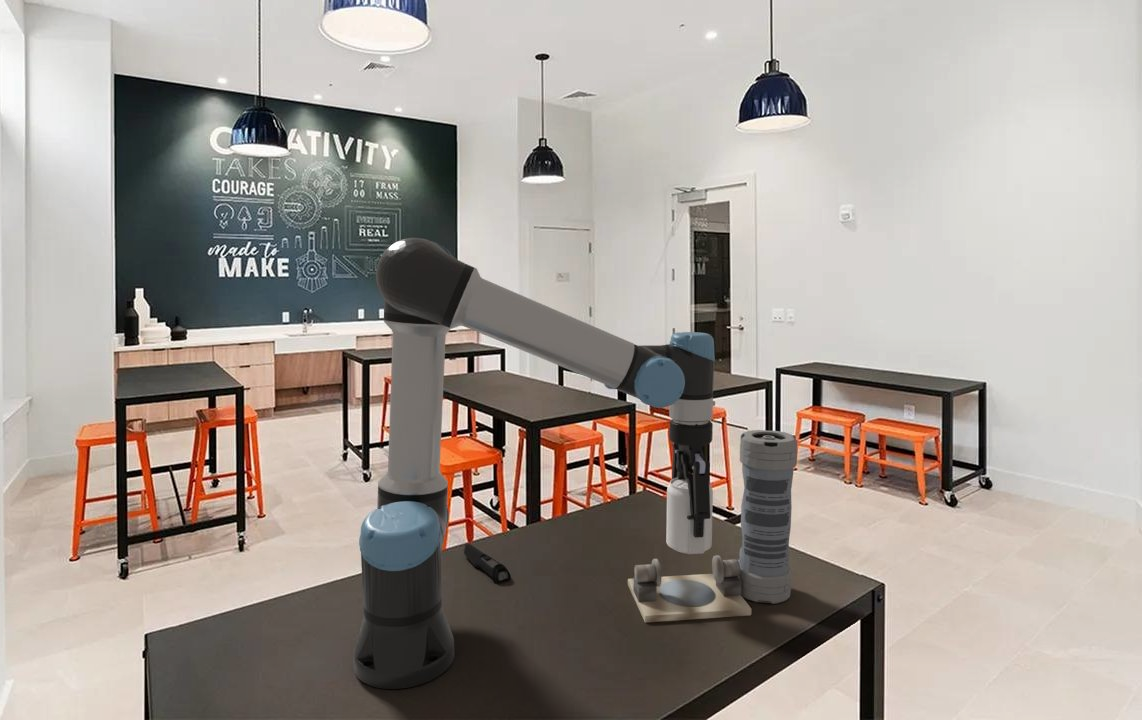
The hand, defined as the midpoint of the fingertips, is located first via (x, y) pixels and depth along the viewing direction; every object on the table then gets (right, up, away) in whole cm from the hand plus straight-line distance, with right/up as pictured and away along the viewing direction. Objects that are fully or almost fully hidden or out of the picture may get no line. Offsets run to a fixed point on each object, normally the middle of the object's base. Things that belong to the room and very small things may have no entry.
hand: (688, 542), depth 121 cm
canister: (+15, -11, +4) cm, 19 cm away
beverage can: (0, -1, 0) cm, 1 cm away
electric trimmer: (-39, -10, +14) cm, 42 cm away
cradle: (0, -11, +1) cm, 11 cm away
